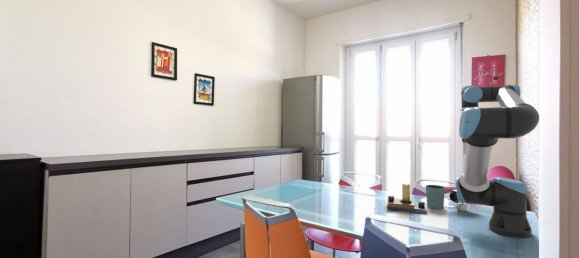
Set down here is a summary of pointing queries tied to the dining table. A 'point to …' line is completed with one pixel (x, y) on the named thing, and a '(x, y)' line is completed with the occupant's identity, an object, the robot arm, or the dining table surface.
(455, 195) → the white camera
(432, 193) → the grey green open container
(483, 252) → the dining table surface
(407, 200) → the brass pin
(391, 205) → the brown block with knobs
